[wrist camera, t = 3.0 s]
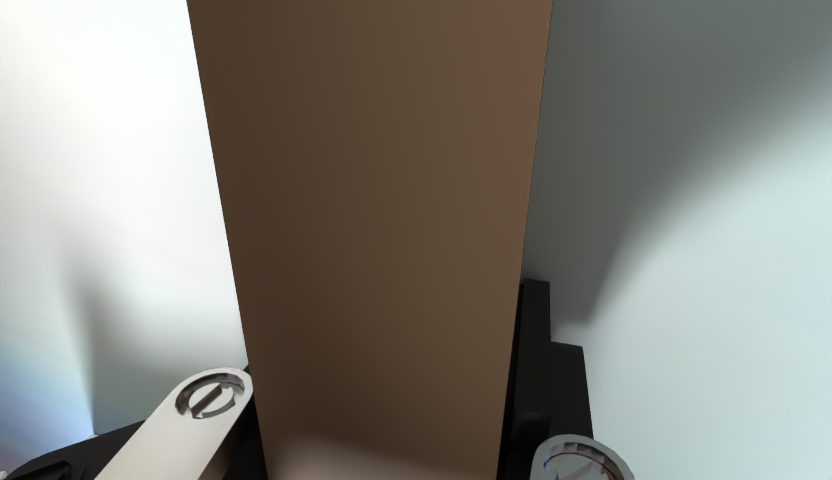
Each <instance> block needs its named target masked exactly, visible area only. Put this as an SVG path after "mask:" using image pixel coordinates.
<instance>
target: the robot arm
mask: <svg viewBox="0 0 832 480" xmlns="http://www.w3.org/2000/svg"><path fill="white" fill-rule="evenodd" d="M0 480H268V474H267V468H266V463H265V457H264V451H263V445H262V439H261V433H260V427H259V422H258V416H257V410H256V404H255V398H254V392H253V387H252V381H251V375H250V369H249V364H248V365H247V366H246V368H245V369H244V370H243V371H242V370H240V369H235V368H214V369H209V370H205V371H203V372H200V373H197V374H195V375H193V376H191V377H189V378H187V379H186V380H184V381H182V382H181V383H180V384H179V385H178V386H177V387H176V388H174V389H173V390H172V391H171V393H170V394H169V395H168V396H167V397H166V398H165V399H164V401H163V402H162V403H161V404H160V405H159V406H158V407H157V409H156V410H155V411H154V412H153V413H152V414H151V415H150V417H149V418H148V419H147V420H144V421H141V422H138V423H135V424H132V425H129V426H126V427H123V428H120V429H117V430H114V431H111V432H108V433H105V434H102V435H99V436H96V437H94V438H91V439H88V440H85V441H82V442H79V443H76V444H73V445H70V446H67V447H64V448H61V449H58V450H55V451H52V452H49V453H47V454H44V455H42V456H40V457H37V458H35V459H33V460H31V461H29V462H27V463H26V464H24V465H22V466H21V467H19V468H17V469H16V470H14V471H13V472H12V473H11V474H9V475H7V473H6V471H2V472H0ZM496 480H635V479H634V475H633V474H632V472H631V470H630V469H629V467H628V466H627V464H626V462H625V461H624V460H623V459H622V458H620V457H619V456H618V455H617V454H616V453H615V452H614V451H613V450H611V449H610V448H608V447H607V446H605V445H604V444H602V443H601V442H598V441H596V440H594V438H593V430H592V421H591V413H590V405H589V396H588V388H587V379H586V371H585V363H584V354H583V349H582V347H581V346H576V345H570V344H563V343H557V342H551V336H550V283H549V282H546V281H538V280H530V279H524V284H523V285H519V290H518V299H517V307H516V315H515V324H514V332H513V340H512V349H511V357H510V365H509V374H508V382H507V390H506V399H505V407H504V415H503V424H502V432H501V441H500V449H499V458H498V466H497V475H496Z"/></svg>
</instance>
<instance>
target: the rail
mask: <svg viewBox="0 0 832 480" xmlns="http://www.w3.org/2000/svg"><path fill="white" fill-rule="evenodd" d="M186 1H187V7H188V12H189V18H190V24H191V30H192V36H193V42H194V48H195V53H196V59H197V65H198V71H199V77H200V83H201V88H202V94H203V100H204V106H205V112H206V118H207V124H208V129H209V135H210V141H211V147H212V153H213V159H214V164H215V170H216V176H217V182H218V188H219V194H220V199H221V205H222V211H223V217H224V223H225V229H226V235H227V240H228V246H229V252H230V258H231V264H232V270H233V275H234V281H235V287H236V293H237V299H238V305H239V311H240V316H241V322H242V328H243V334H244V340H245V346H246V351H247V357H248V363H249V369H250V375H251V381H252V387H253V392H254V398H255V404H256V410H257V416H258V422H259V427H260V433H261V439H262V445H263V451H264V457H265V463H266V468H267V474H268V480H496V475H497V466H498V458H499V449H500V441H501V432H502V424H503V415H504V407H505V399H506V390H507V382H508V374H509V365H510V357H511V349H512V340H513V332H514V324H515V315H516V307H517V299H518V290H519V282H520V273H521V265H522V257H523V248H524V240H525V231H526V223H527V214H528V206H529V198H530V189H531V181H532V172H533V164H534V155H535V147H536V138H537V130H538V122H539V113H540V105H541V96H542V88H543V79H544V71H545V63H546V54H547V46H548V37H549V29H550V20H551V12H552V4H553V0H186Z"/></svg>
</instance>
